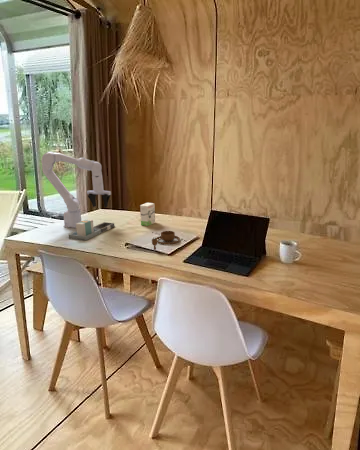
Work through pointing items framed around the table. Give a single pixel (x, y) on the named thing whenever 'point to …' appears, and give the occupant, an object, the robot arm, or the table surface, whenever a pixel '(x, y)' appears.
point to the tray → (75, 236)
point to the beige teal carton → (85, 227)
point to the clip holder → (108, 226)
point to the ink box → (147, 214)
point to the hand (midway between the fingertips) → (100, 206)
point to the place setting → (166, 238)
